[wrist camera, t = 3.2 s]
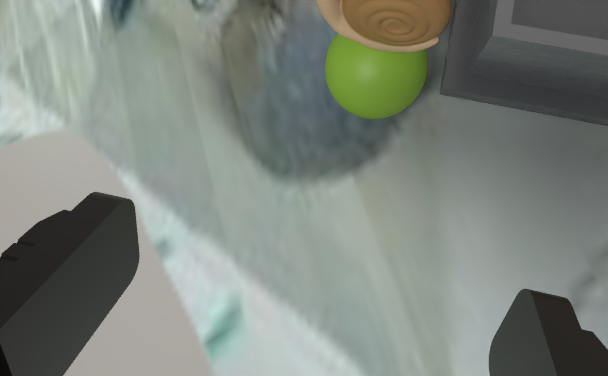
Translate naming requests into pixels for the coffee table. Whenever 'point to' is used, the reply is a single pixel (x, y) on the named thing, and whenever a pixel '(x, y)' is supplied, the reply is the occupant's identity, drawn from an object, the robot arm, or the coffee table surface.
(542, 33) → the duct collar
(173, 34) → the coffee table surface
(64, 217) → the robot arm
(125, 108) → the coffee table surface
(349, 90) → the snail figurine
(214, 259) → the coffee table surface
